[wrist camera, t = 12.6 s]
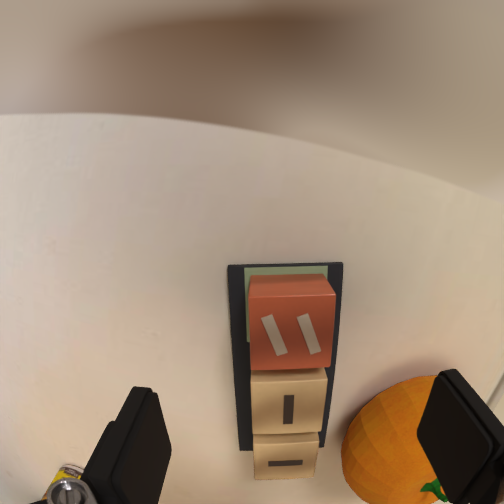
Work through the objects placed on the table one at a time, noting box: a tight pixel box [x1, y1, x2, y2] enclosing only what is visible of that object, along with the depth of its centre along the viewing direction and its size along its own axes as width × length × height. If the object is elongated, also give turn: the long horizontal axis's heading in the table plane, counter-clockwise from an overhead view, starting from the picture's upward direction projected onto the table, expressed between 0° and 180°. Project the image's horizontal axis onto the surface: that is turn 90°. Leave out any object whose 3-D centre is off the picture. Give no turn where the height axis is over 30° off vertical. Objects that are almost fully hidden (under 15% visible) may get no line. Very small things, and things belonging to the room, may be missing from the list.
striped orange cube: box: [248, 273, 336, 370], centre depth 18 cm, size 4×4×4 cm
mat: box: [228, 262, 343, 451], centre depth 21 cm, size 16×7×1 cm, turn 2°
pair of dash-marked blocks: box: [251, 367, 328, 480], centre depth 20 cm, size 10×4×4 cm, turn 2°
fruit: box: [341, 375, 448, 504], centre depth 18 cm, size 12×12×10 cm
